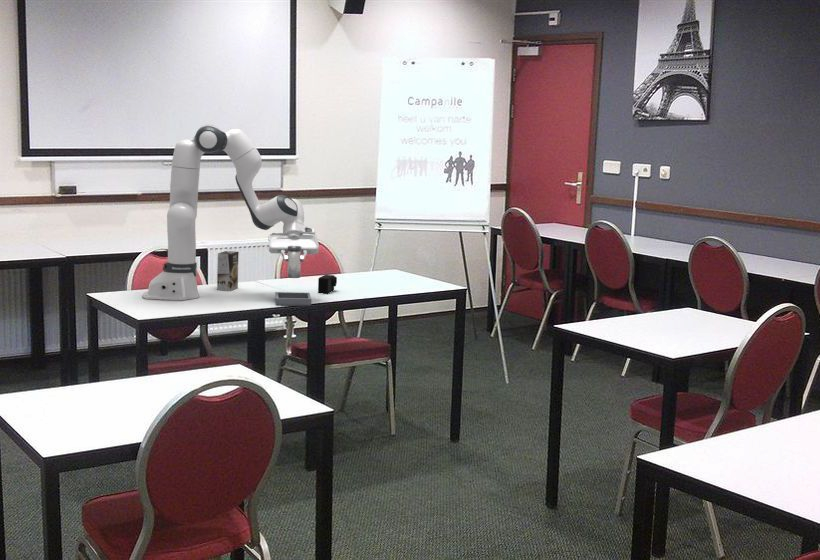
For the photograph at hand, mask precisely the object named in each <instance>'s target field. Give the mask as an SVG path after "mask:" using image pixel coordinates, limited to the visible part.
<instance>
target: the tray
mask: <svg viewBox="0 0 820 560" xmlns="http://www.w3.org/2000/svg"><path fill="white" fill-rule="evenodd" d="M274 295H275V298H274V301H276V302H275V306H276V305H281V306H280V307H312V296H311V293H310V292H292V291H291V292H290V291H289V292H282V291H281V292H280V291H278V292H276V291H275V293H274Z"/></svg>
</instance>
